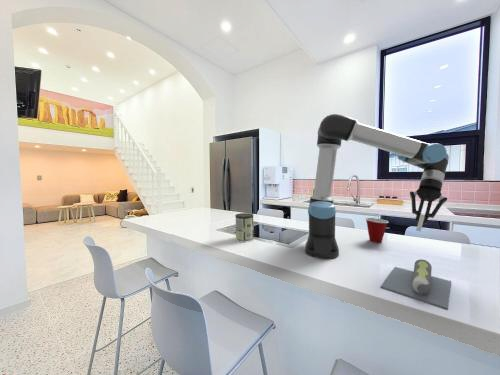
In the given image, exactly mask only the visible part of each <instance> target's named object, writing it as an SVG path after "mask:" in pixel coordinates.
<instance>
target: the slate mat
mask: <svg viewBox="0 0 500 375" xmlns="http://www.w3.org/2000/svg"><path fill="white" fill-rule="evenodd" d="M413 273H414V270H409V269H406V268H401V267H398V266H394V267H393V269H392V270H391V271H390V272H389V274H388V275H387V276H386V278H384V280H383V282H382V283H381V285H380V288H382V289H384V290H388V291H390V292H393V293H397V294H399V295H402V296H405V297H408V298H412V299H414V300H417V301H419V302H420V301H421V302H424V303H427V304H429V305H433V306H435V307H438V306H439V308H441V307H442V308H441V309H444V308H445V310H448V309H449V307H448V306H449V301H450V300H449V299H450V294H451V286H452V281H451V280H448V279H445V278H439V277H437V276H436V277H435V276H433V275H431V287H430V291H429V292H428V293H427V294H419V293H417V292H416V291H415V290H414V289H413V286H412V284H413V282H412V281H413Z"/></svg>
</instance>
